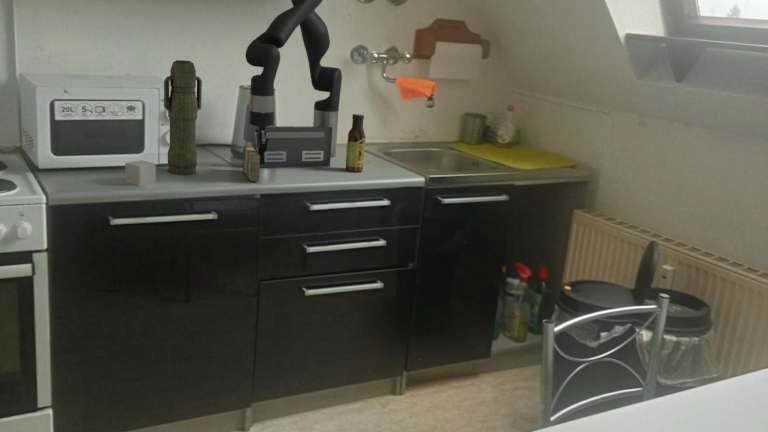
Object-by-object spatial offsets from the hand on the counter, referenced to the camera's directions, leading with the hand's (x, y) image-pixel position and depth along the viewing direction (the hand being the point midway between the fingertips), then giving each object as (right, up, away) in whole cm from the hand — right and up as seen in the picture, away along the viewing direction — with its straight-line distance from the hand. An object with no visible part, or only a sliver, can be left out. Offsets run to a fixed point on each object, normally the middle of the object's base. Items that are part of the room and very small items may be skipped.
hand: (260, 163), depth 233 cm
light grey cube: (-33, -7, -15) cm, 37 cm away
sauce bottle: (+29, -1, +26) cm, 39 cm away
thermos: (-26, -3, +2) cm, 26 cm away
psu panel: (+7, +1, +23) cm, 24 cm away
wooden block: (-4, -3, +4) cm, 6 cm away
